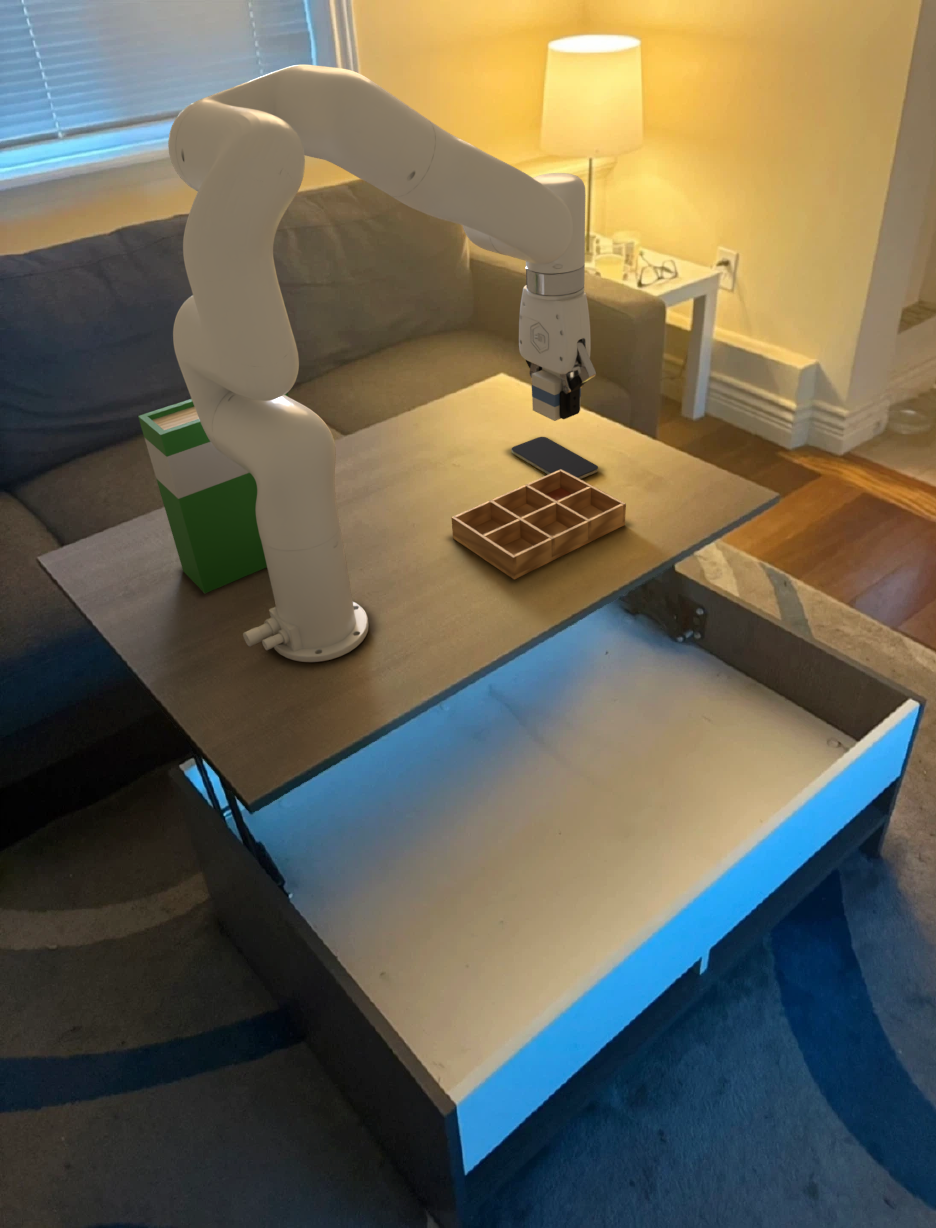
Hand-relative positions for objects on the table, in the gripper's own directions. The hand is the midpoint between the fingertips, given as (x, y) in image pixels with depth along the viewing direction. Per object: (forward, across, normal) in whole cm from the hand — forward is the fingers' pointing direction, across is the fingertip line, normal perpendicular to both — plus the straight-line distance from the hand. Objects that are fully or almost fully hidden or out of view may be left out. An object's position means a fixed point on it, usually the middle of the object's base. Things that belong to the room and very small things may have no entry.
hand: (556, 408), depth 134 cm
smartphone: (+16, -11, +9) cm, 22 cm away
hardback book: (+16, -19, -42) cm, 49 cm away
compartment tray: (+16, +3, -6) cm, 18 cm away
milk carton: (0, 0, 0) cm, 0 cm away
